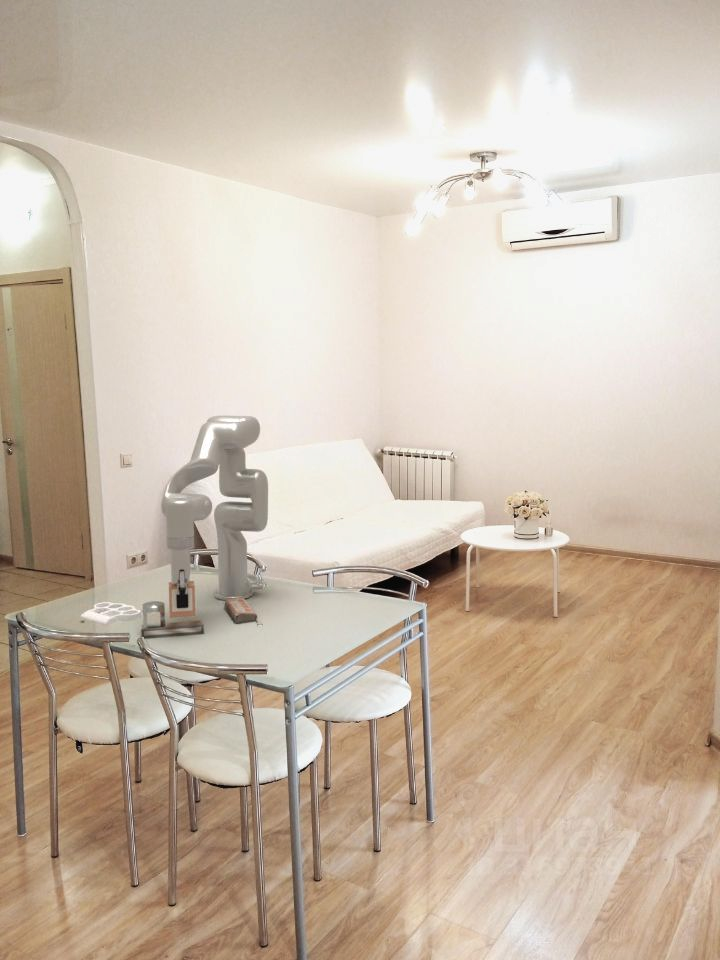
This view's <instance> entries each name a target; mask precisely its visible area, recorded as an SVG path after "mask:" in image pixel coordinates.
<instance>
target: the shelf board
mask: <svg viewBox="0 0 720 960" xmlns="http://www.w3.org/2000/svg"><path fill="white" fill-rule="evenodd" d="M140 630H141V631H140V635H141V638H142V637H144V638H145V639H155V638H156V639H157V638H168V637H170V638H171V637H180V636H193V635H194V636H195V635H204V634H205V632H204V631H205V626H204V624H203V621H202V620H189V621H187V620H186V621H177V622H176V621H175V622H165V627H159V628H146V629H143V624H142V625H141V629H140Z"/></svg>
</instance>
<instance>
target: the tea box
mask: <svg viewBox="0 0 720 960" xmlns="http://www.w3.org/2000/svg"><path fill="white" fill-rule="evenodd" d="M184 582H185V581H184ZM178 583H180V582H178ZM185 583H186V582H185ZM195 586H196V585H195V581H194V580H189V583H188V584H187V594H188V608H177V599H176V594H177V583H175V584H174V585H173V584H172V581H170V582H169V581H168V602H169V604H168V606H169V608H168V609H169V611H168V612H169V619H174V618H175V619H176V618H177V619H178V618H189V617H196V600H195V599H196V589H195V588H196V587H195ZM179 587H180V586H179Z"/></svg>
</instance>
